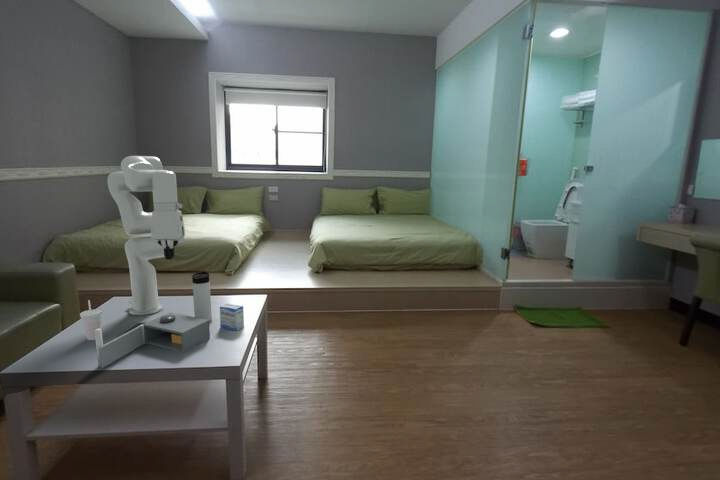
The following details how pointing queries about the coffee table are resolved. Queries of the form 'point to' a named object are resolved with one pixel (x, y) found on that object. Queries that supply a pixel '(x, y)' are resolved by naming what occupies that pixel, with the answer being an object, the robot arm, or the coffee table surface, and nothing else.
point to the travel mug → (202, 295)
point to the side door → (117, 345)
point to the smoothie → (91, 321)
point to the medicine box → (231, 317)
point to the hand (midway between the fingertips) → (169, 258)
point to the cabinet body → (176, 331)
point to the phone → (132, 328)
